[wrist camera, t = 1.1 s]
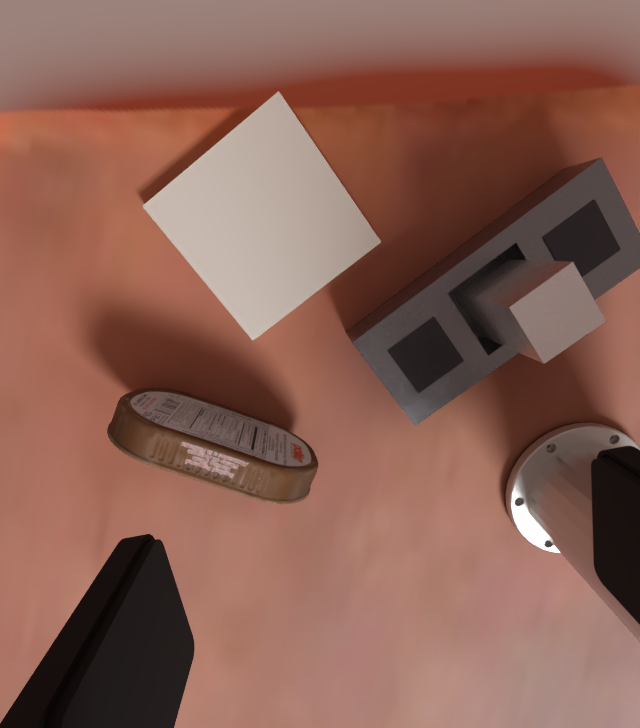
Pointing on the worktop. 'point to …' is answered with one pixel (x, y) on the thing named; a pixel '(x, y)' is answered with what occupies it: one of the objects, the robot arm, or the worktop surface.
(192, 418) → the tin
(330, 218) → the pad
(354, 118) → the worktop surface
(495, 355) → the grey compartment holder
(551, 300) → the steel block
